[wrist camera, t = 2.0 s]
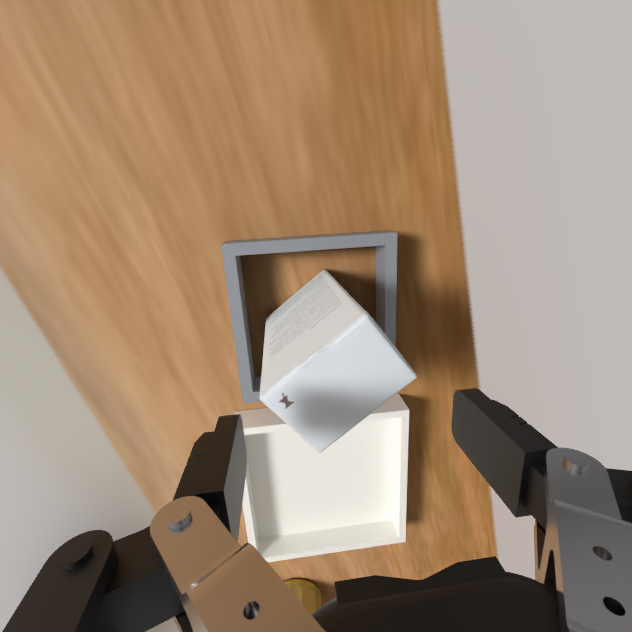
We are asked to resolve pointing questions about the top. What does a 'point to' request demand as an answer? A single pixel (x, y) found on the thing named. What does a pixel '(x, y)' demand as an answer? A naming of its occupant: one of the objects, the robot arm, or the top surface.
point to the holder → (233, 249)
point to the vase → (306, 593)
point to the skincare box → (327, 363)
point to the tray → (325, 485)
